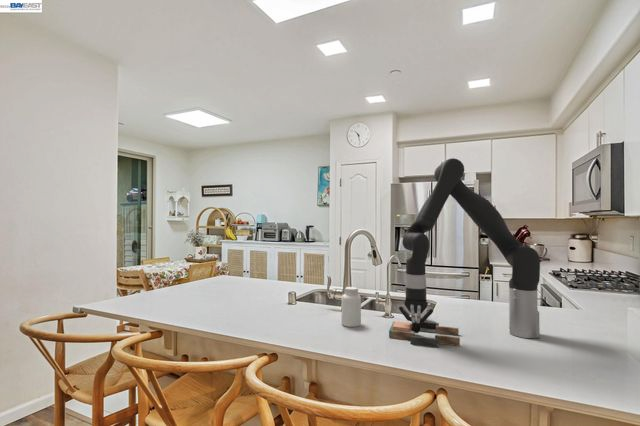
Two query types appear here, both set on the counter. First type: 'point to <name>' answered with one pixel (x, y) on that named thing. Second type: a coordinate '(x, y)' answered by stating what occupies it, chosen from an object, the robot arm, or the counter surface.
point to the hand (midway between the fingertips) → (416, 332)
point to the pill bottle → (351, 307)
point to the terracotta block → (402, 326)
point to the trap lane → (430, 328)
